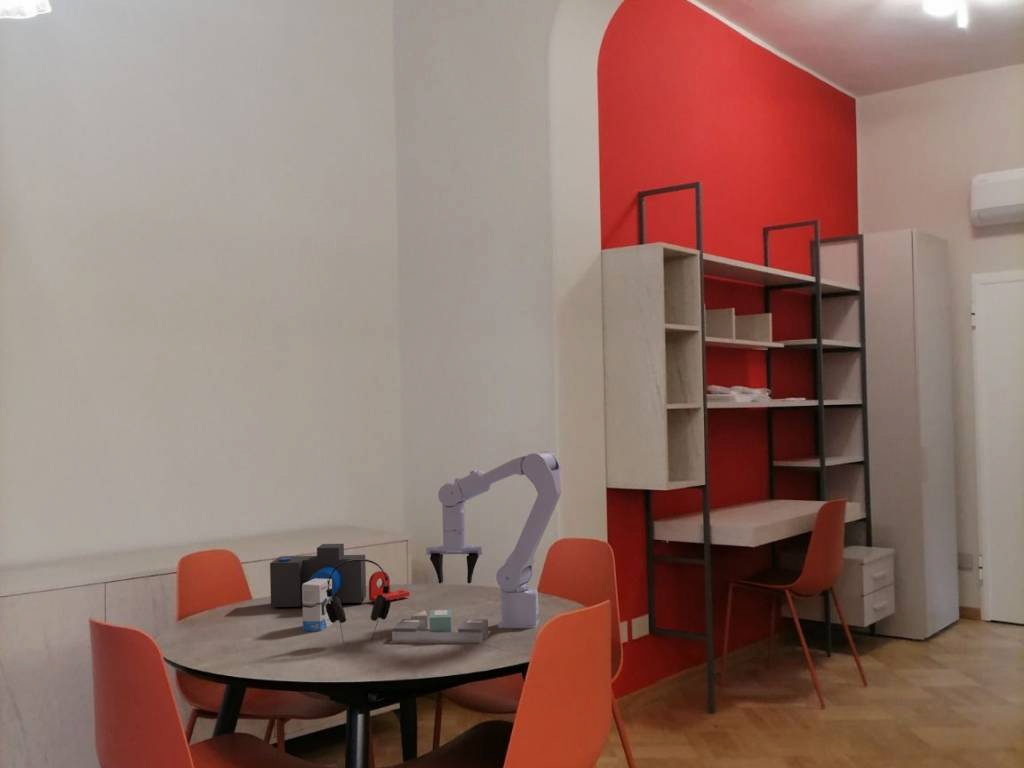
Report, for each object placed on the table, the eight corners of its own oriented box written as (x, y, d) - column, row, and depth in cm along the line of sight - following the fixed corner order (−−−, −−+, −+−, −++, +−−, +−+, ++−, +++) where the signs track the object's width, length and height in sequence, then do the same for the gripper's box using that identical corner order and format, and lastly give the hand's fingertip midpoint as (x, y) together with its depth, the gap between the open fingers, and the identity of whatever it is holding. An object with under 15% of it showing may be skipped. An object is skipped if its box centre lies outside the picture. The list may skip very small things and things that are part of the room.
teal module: (452, 632, 227) (451, 609, 227) (451, 640, 219) (450, 616, 219) (431, 632, 227) (430, 609, 227) (430, 641, 219) (429, 617, 219)
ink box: (320, 632, 233) (319, 584, 233) (301, 631, 234) (301, 584, 234) (333, 624, 241) (332, 578, 242) (315, 623, 242) (314, 578, 242)
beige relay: (425, 626, 237) (424, 610, 237) (427, 631, 231) (427, 615, 232) (409, 627, 237) (408, 611, 237) (411, 632, 231) (411, 616, 231)
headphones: (390, 635, 229) (388, 552, 229) (392, 646, 217) (390, 560, 218) (327, 639, 226) (325, 555, 226) (325, 651, 215) (324, 563, 215)
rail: (481, 642, 217) (481, 631, 217) (480, 643, 216) (480, 632, 216) (393, 641, 220) (393, 630, 220) (392, 642, 219) (391, 631, 219)
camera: (265, 611, 259) (264, 553, 259) (281, 598, 275) (280, 544, 275) (355, 609, 258) (354, 552, 258) (366, 597, 274) (365, 543, 275)
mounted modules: (488, 632, 227) (487, 619, 227) (481, 642, 217) (481, 628, 217) (403, 631, 229) (403, 618, 230) (393, 641, 220) (393, 627, 220)
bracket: (379, 602, 267) (378, 574, 267) (369, 600, 270) (368, 572, 270) (411, 595, 276) (410, 568, 276) (401, 593, 279) (400, 566, 279)
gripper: (484, 527, 244) (485, 579, 244) (429, 527, 246) (431, 579, 246) (479, 531, 237) (481, 585, 237) (423, 531, 239) (424, 584, 239)
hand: (455, 582), depth 241 cm, fingers open, 7 cm apart
